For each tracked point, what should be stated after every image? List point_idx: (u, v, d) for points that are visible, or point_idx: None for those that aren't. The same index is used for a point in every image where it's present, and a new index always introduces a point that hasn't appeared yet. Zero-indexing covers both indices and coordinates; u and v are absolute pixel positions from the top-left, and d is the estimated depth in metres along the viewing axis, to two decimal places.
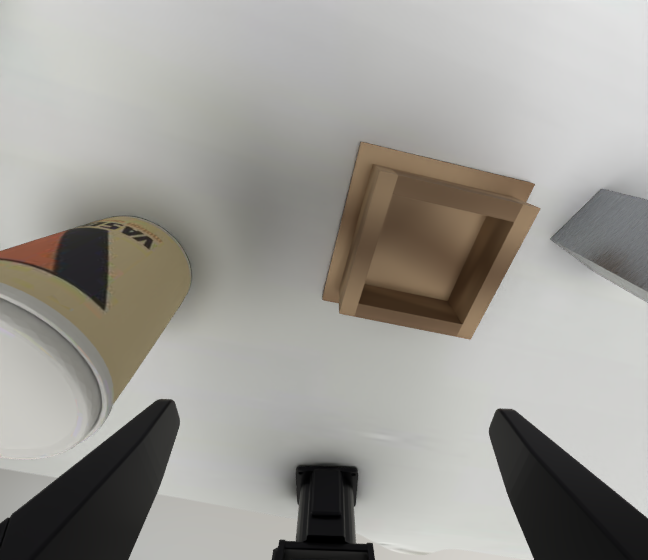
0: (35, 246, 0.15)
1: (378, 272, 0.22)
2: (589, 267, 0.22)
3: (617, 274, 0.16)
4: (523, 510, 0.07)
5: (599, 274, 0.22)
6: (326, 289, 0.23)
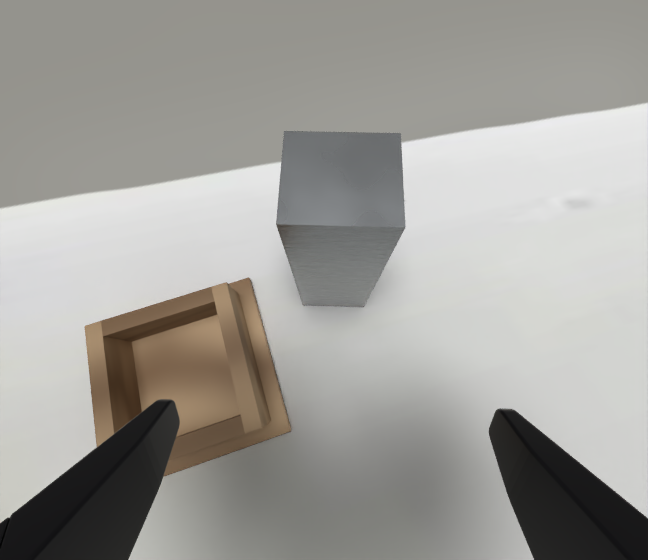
0: None
1: None
2: (349, 304, 0.23)
3: (296, 283, 0.18)
4: (523, 510, 0.07)
5: (359, 304, 0.23)
6: None
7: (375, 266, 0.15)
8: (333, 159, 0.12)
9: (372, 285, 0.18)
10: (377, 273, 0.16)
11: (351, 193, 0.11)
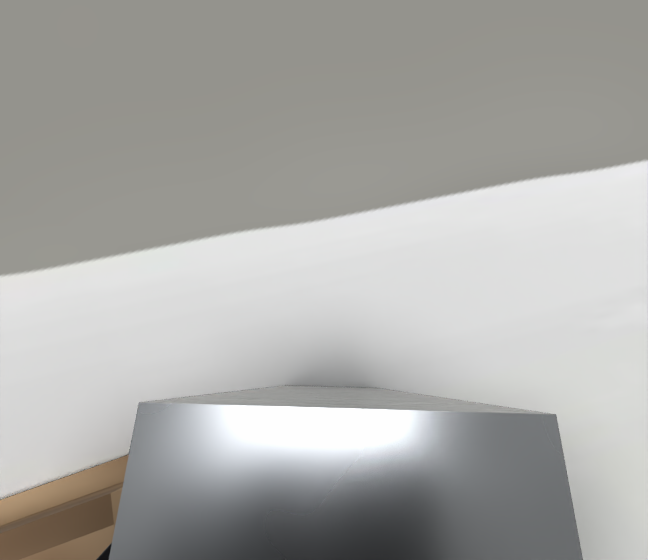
0: None
1: None
2: None
3: None
4: None
5: None
6: None
7: None
8: (312, 548, 0.03)
9: None
10: None
11: None
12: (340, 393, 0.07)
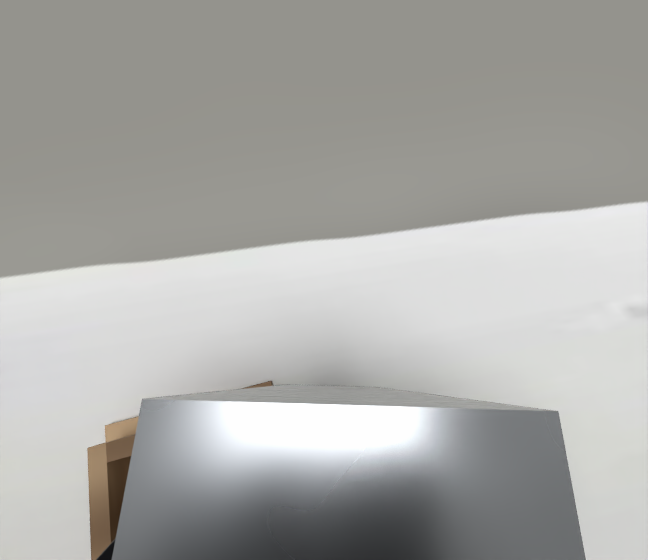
0: None
1: None
2: None
3: None
4: None
5: None
6: None
7: None
8: (315, 544, 0.03)
9: None
10: None
11: None
12: None
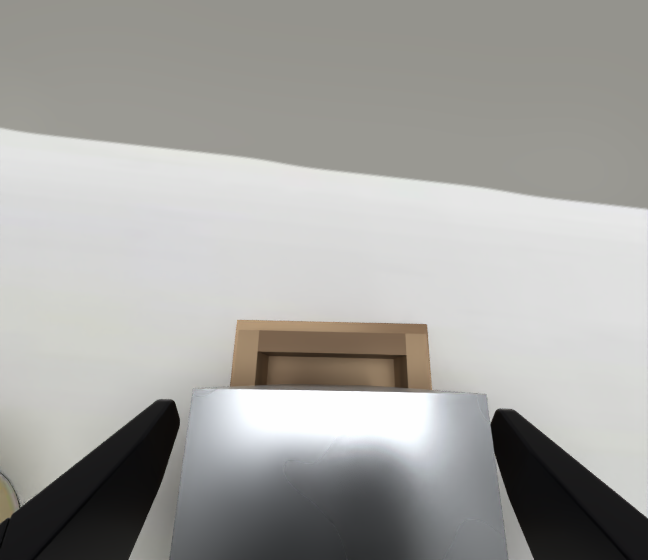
0: None
1: None
2: None
3: None
4: (523, 510, 0.07)
5: None
6: None
7: None
8: (316, 485, 0.04)
9: None
10: None
11: None
12: None
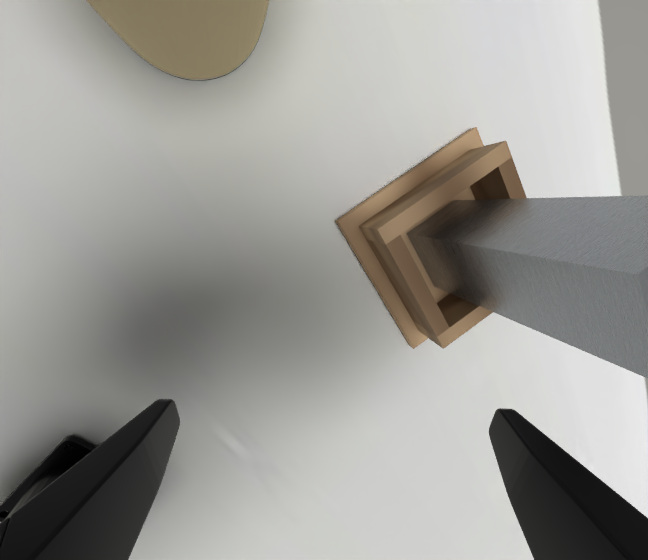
0: None
1: None
2: (432, 276, 0.21)
3: (462, 243, 0.16)
4: (523, 510, 0.07)
5: (439, 285, 0.21)
6: (350, 214, 0.20)
7: (545, 328, 0.14)
8: None
9: (493, 310, 0.17)
10: (527, 324, 0.15)
11: None
12: None
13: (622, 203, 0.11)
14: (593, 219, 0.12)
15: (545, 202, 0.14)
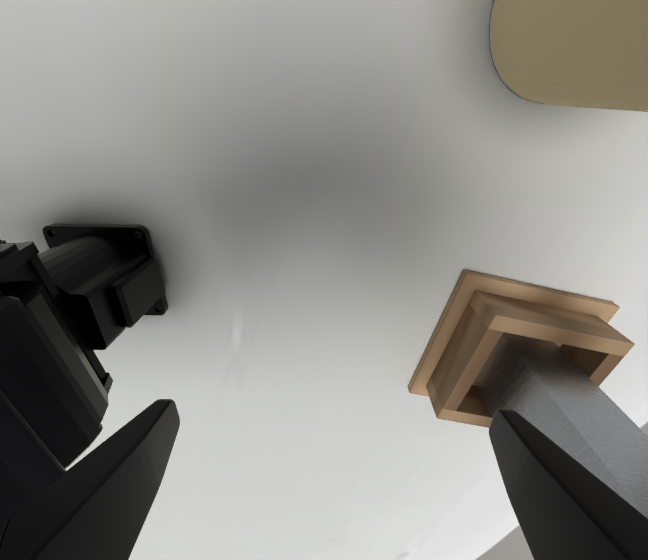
0: None
1: None
2: None
3: (542, 384, 0.17)
4: (523, 510, 0.07)
5: None
6: (479, 278, 0.21)
7: None
8: None
9: None
10: None
11: None
12: None
13: None
14: None
15: (624, 418, 0.16)
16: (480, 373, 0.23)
